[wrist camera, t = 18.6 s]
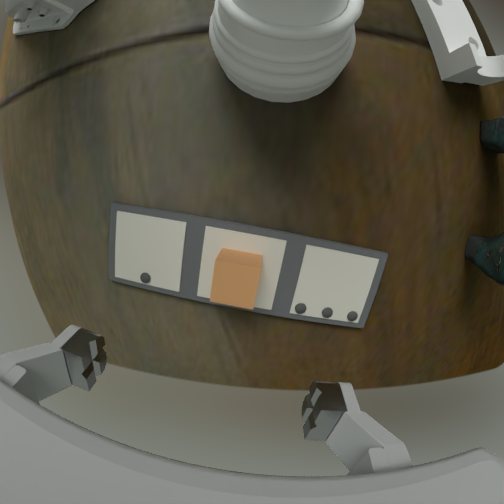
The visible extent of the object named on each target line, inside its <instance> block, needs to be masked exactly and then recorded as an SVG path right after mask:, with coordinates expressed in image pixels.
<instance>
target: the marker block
mask: <svg viewBox="0 0 504 504" xmlns="http://www.w3.org/2000/svg"><path fill="white" fill-rule="evenodd" d="M261 269H262V255H260V254H254V253H249V252H244V251H238V250H233V249H228V248H222V249H221V251H220V253H219V254H218V256H217V258H216V259H215V265H214V272H213V279H212V287H211V294H210V302H215V303H220V304H225V305H231V306H236V307H241V308H247V309H252V310H253V308H254V303H255V298H256V294H257V289H258V284H259V279H260V274H261Z"/></svg>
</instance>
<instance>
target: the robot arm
mask: <svg viewBox="0 0 504 504" xmlns="http://www.w3.org/2000/svg"><path fill="white" fill-rule="evenodd" d="M93 1H95V0H7V3H6V7H5V12H6V14H7V15H8V16H9V17H11V18H13V20H14V21H15V22H14V26H13V34H15V35H22V34H28V33H34V32H41V31H49V30H58V29H63V28H65V27H67V26H68V25H69V24H70V23H71V21H72V20H73V19H74V18H75V17H76V16H77V15H78V13H79V12H80V11H82V10H83V9H84V8H85V7H87V6H88V5H89V4H91V3H92V2H93ZM104 345H105V341H104V337H103V336H101V335H98V334H96V333H93V332H91V331H88V330H86V329H83V328H80V327H78V326H75V325H70V326H68V327H67V328H66V329H65V330H64V331H63V332H62V333H61V334H60V335H59V336H58V337H57V338H56V339H55V340H54V341H53V342H51V343H50V344H49V343H44V344H41V345H37V346H33V347H29V348H25V349H21V350H17V351H13V352H9V353H5V354H2V355H1V356H0V504H504V460H503V459H502V458H500V457H499V456H497V455H496V454H494V453H492V452H491V451H489V450H487V449H485V448H476V449H472V450H469V451H466V452H463V453H461V454H457V455H454V456H451V457H447V458H444V459H440V460H437V461H433V462H429V463H425V464H420V465H416V466H413V465H412V462H411V460H410V457H409V454H408V452H407V449H406V447H405V444H404V443H403V442H402V441H400V440H399V439H398V438H396V437H395V436H394V435H392V434H391V433H390V432H389V431H387V430H386V429H385V428H384V427H382V426H381V425H380V424H379V423H377V422H376V421H375V420H374V419H372V418H371V417H370V416H369V415H368V414H366V413H365V412H361V410H360V407H359V404H358V402H357V399H356V396H355V393H354V390H353V387H352V385H351V384H350V383H334V382H320V381H313V382H312V383H311V385H310V387H309V391H310V394H308V395H307V396H306V397H305V399H304V401H303V405H302V419H303V420H304V421H305V424H304V426H303V429H304V438H305V440H318V441H319V440H320V441H326V443H327V444H328V445H329V447H330V448H331V449H332V450H333V452H334V453H335V454H336V455H337V456H338V458H339V459H340V460H341V461H342V462H343V464H344V465H345V466H346V467H347V468H348V470H349V471H350V472H349V473H348V474H347V475H345V476H327V477H326V476H323V477H295V476H294V477H293V476H272V475H260V474H250V473H242V472H234V471H227V470H221V469H215V468H209V467H204V466H199V465H194V464H189V463H185V462H181V461H177V460H173V459H169V458H166V457H162V456H159V455H155V454H152V453H149V452H145V451H142V450H139V449H136V448H133V447H130V446H128V445H125V444H122V443H119V442H117V441H114V440H112V439H109V438H106V437H104V436H102V435H99V434H97V433H95V432H92V431H90V430H88V429H86V428H83V427H81V426H79V425H77V424H75V423H73V422H71V421H69V420H67V419H65V418H63V417H61V416H59V415H57V414H55V413H53V412H52V411H50V410H48V409H46V408H44V407H43V406H41V405H40V404H39V401H41V400H43V399H45V398H47V397H49V396H51V395H53V394H55V393H57V392H59V391H61V390H63V389H65V388H67V387H69V386H71V385H75V386H77V387H79V388H82V389H84V390H87V391H90V389H91V388H92V387H93V385H94V384H95V382H96V377H95V376H98V375H101V374H102V372H103V371H104V369H105V366H106V361H107V356H106V352H105V351H104V349H103V346H104Z"/></svg>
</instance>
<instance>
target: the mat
mask: <svg viewBox="0 0 504 504" xmlns="http://www.w3.org/2000/svg"><path fill="white" fill-rule="evenodd" d="M222 248H228V249H233V250H238V251H244V252H249V253H254V254H260V255H262V269H261V274H260V279H259V284H258V289H257V294H256V298H255V303H254V308H253V310H252V309H247V308H241V307H236V306H231V305H225V304H220V303H215V302H210V294H211V287H212V279H213V272H214V265H215V259H216V258H217V256H218V254H219V253H220V251H221V249H222ZM387 257H388V254H387V253H386V252H382V251H377V250H372V249H368V248H363V247H359V246H354V245H349V244H344V243H339V242H335V241H330V240H325V239H320V238H315V237H310V236H305V235H300V234H295V233H290V232H285V231H279V230H274V229H269V228H264V227H258V226H253V225H247V224H242V223H236V222H231V221H225V220H220V219H214V218H208V217H203V216H197V215H191V214H185V213H179V212H173V211H167V210H161V209H154V208H148V207H142V206H135V205H129V204H122V203H115V202H114V203H111V209H110V226H109V280H112V281H116V282H119V283H123V284H127V285H131V286H135V287H139V288H143V289H147V290H151V291H156V292H160V293H164V294H168V295H173V296H177V297H182V298H186V299H191V300H195V301H200V302H205V303H210V304H215V305H220V306H225V307H230V308H235V309H240V310H246V311H251V312H257V313H262V314H268V315H274V316H280V317H286V318H292V319H299V320H305V321H312V322H319V323H326V324H333V325H341V326H348V327H357V328H363V327H364V325H365V322H366V319H367V317H368V314H369V311H370V309H371V306H372V303H373V300H374V297H375V295H376V292H377V289H378V286H379V283H380V280H381V276H382V273H383V270H384V267H385V264H386V260H387Z"/></svg>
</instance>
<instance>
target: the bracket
mask: <svg viewBox="0 0 504 504" xmlns="http://www.w3.org/2000/svg"><path fill="white" fill-rule="evenodd" d="M411 1H412V3H413V5H414V7H415V10H416V12H417V14H418V16H419V18H420V21H421V23H422V25H423V28H424V30H425V33H426V35H427V38H428V41H429V43H430V46H431V49H432V52H433V55H434V58H435V61H436V64H437V67H438V70H439V74H440V77H441V80H443V81H450V82H457V83H464V82H466V83H472V84H477V85H481V86H484V85H487V84H491V83H495V82H498V81H502V80H504V55H500V56H486V53H485V50H484V48H483V45H482V43H481V40H480V38H479V35H478V33H477V30H476V28H475V26H474V23H473V21H472V19H471V17H470V15H469V13H468V11H467V9H466V7H465V5H464V3H463V1H462V0H411Z"/></svg>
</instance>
